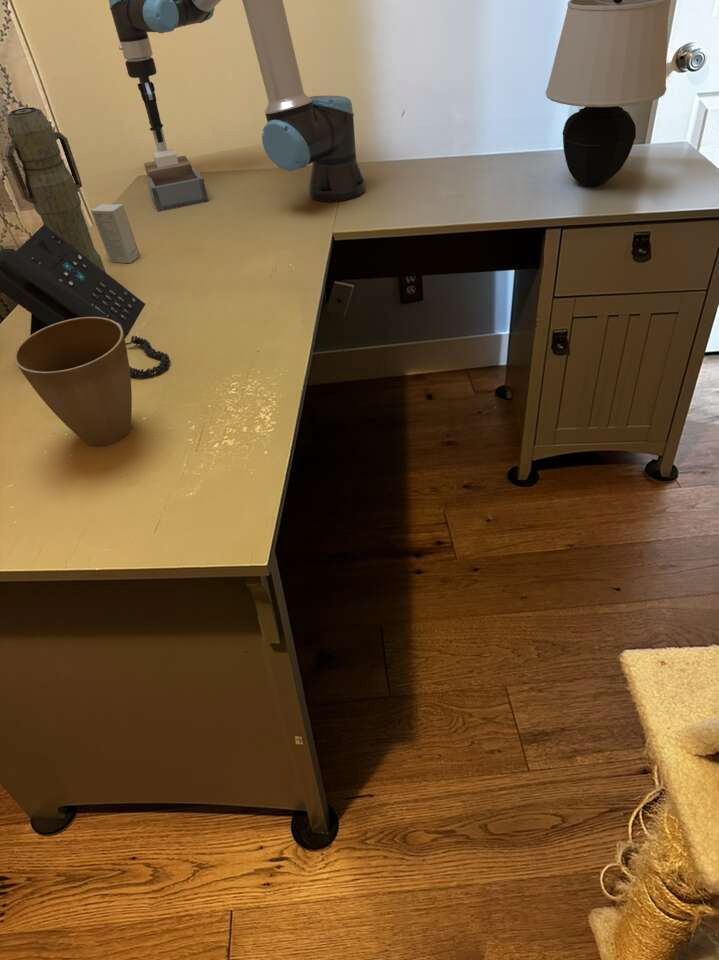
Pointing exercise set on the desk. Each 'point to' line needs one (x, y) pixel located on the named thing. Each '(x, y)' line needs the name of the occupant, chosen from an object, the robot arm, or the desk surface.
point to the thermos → (49, 178)
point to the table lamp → (607, 79)
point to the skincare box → (115, 233)
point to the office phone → (69, 289)
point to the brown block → (169, 172)
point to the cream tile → (165, 158)
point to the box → (178, 192)
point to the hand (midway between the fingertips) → (163, 153)
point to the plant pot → (82, 376)
